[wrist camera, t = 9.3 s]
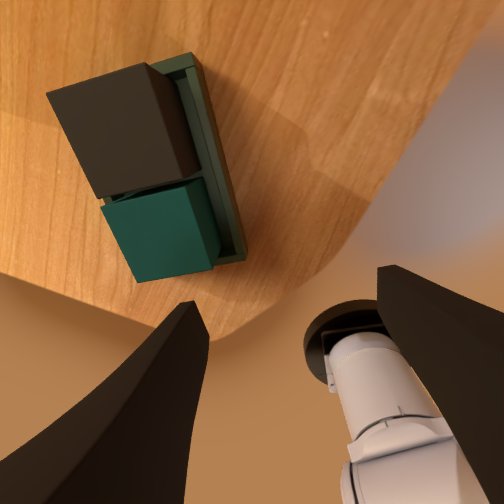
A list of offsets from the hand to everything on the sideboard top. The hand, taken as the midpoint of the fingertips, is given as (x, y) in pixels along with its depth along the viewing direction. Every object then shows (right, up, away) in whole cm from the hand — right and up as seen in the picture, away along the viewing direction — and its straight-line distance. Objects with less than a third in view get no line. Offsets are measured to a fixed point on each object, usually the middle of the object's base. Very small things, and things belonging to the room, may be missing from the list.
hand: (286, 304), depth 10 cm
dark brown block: (-8, +10, +6) cm, 14 cm away
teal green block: (-7, +5, +8) cm, 11 cm away
